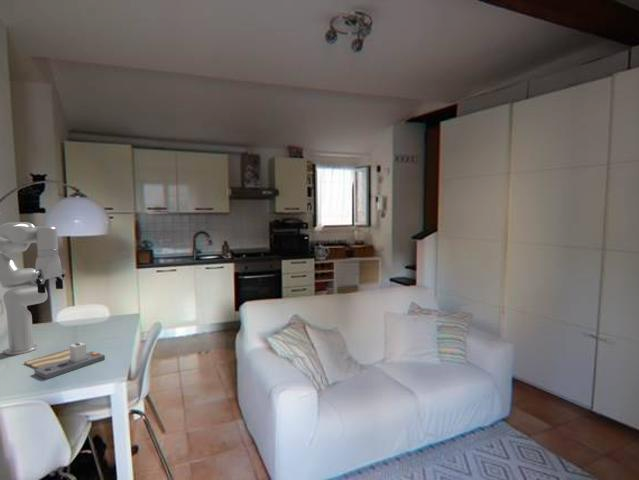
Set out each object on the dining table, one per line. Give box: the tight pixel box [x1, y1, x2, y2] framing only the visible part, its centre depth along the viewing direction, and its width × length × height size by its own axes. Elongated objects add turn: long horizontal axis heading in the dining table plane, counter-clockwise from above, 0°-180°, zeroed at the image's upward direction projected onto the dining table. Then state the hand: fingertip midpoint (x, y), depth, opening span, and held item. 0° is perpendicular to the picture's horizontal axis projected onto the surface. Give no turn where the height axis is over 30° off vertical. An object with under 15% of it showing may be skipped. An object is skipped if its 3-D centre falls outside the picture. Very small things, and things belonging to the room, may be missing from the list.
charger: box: [69, 342, 87, 363], centre depth 166 cm, size 5×5×10 cm
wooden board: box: [24, 348, 70, 369], centre depth 171 cm, size 14×18×1 cm
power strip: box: [33, 351, 106, 380], centre depth 164 cm, size 10×24×3 cm, turn 150°
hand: (50, 290), depth 168 cm, fingers open, 9 cm apart
